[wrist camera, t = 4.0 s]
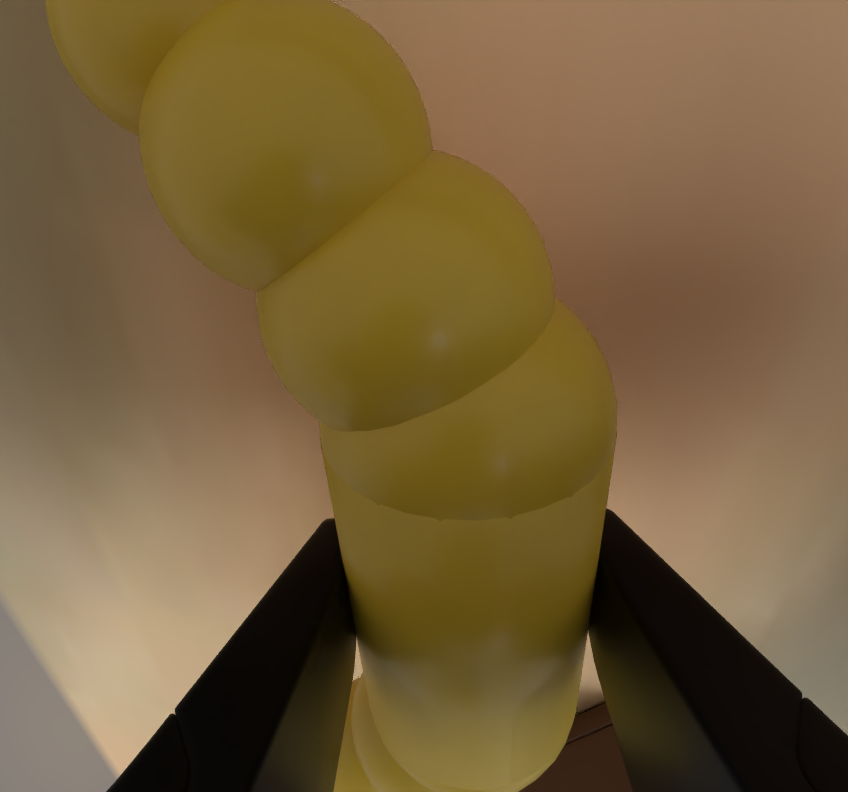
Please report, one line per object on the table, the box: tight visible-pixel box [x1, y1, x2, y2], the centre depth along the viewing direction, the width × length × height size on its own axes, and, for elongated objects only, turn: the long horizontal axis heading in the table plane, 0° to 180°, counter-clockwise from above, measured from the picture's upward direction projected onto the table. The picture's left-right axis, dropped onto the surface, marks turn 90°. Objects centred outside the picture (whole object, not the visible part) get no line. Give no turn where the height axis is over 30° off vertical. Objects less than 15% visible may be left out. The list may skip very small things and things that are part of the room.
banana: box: [45, 0, 617, 792], centre depth 8 cm, size 15×6×3 cm, turn 3°
